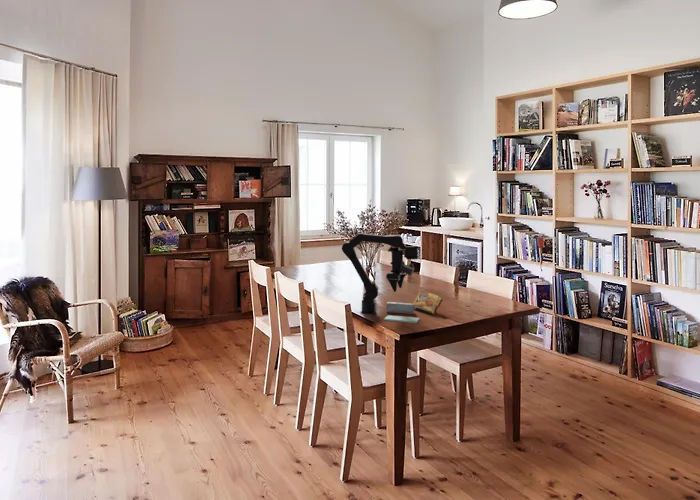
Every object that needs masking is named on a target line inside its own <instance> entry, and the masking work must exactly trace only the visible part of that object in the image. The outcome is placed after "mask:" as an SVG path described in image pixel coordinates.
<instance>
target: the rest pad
mask: <svg viewBox="0 0 700 500" xmlns="http://www.w3.org/2000/svg"><path fill="white" fill-rule="evenodd" d="M420 319H421V318H420V317H412V316H402V315H391V314H388V315H387V316H385V318H384V319H383V320H384V321H389V322H398V323H408V324H409V323H410V324H417V323H418V322H419V321H420Z"/></svg>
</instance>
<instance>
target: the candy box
mask: <svg viewBox="0 0 700 500" xmlns="http://www.w3.org/2000/svg"><path fill="white" fill-rule="evenodd" d="M443 301H444V299H442V297H440V296H439V295H436V294H434V293H429V292H426V291H422V290H420V291H419V293H418V294H417V296H416V298H415V299H414V301H413V302H412V303H413V304H414V308H417V309H418V310H421V311H424V312H426V313H429V314H432V315H435V314H436V313H437V311H438V309H439V308H440V306H441V304H442V303H443Z"/></svg>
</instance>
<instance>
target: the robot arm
mask: <svg viewBox="0 0 700 500" xmlns="http://www.w3.org/2000/svg"><path fill="white" fill-rule="evenodd" d="M403 240H404V239H403V237H402V236H401V235H399V234H391V235H381V234H380V235H379V234H370V233H362V232H359V233H357V235H355V236H354V237H352V238H351V239H350V240H346V241H345V242H343V244H342V246H341V251H342V253H343V254H344V255H345V256H346V257H347V258H348V259H349V260H350V262H351V264H352V266H353V268H354V269H355V271H356V273H357V274H358V277H359V278H360V280H361V282H362V283H363V286H364V290H365V292H364V293H363V295H362V300H361V311H360V313H361V314H370V315H371V314H372V315H373V314H374V313H376V312H377V303H376V300H375V299H376V298H377V297H378V296H379V286H378V285H377V284H376V281H375V280H373V281H372V280H371V279H370V278H369V275H368V273H367V271H366V270H365V268H364V266H363V265H362V263H361V262H360V259H359V257H358V254H357V252H356V249H355V248H356V247H357V246H358V245H359V244H360V243H362V242H367V243H378V244H385V245H387V246H390V247H388V249H387V252H391V262H390V265H391V269H390V272H388V273H386V275H385V276H386V278H385V279H386V280H387V281H388V283H389V285H390V286H391V288H392V290H393V292H395V293H396V292H397V290H398V289H397V288H399V289H402V288H403V284H404V279H405V277H406V276H407V275H408V276H411V275H413V274H414V271H415V265H414V264H413V263H410V264H406V262H405V261H404V258H405V260H418V258H419V257H418V255H419V253H418V246H417V245H412V246H409V245H408V246H406V244H405V243H404V241H403Z"/></svg>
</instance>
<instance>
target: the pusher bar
mask: <svg viewBox="0 0 700 500" xmlns="http://www.w3.org/2000/svg"><path fill="white" fill-rule="evenodd" d="M385 311H386V313H391V314H393V313H394V314H407V315H414V314H415V306H414V304H413V302H412V303H411V302H395V301H387V302H386V310H385Z"/></svg>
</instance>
